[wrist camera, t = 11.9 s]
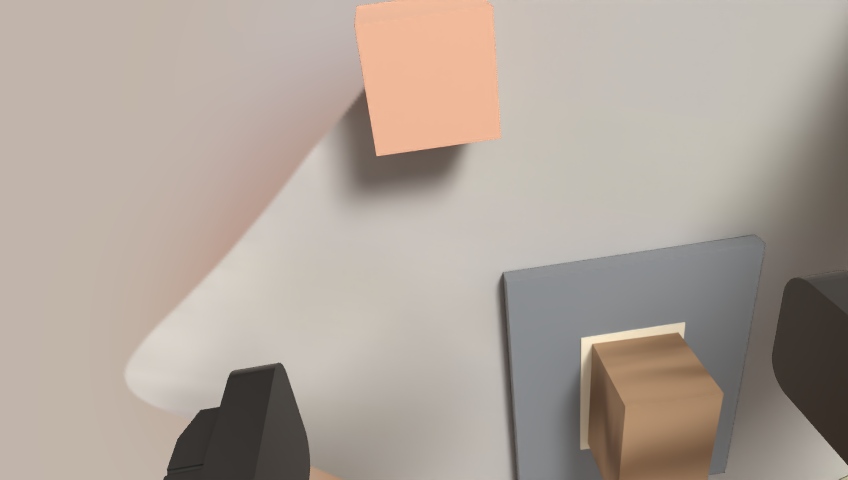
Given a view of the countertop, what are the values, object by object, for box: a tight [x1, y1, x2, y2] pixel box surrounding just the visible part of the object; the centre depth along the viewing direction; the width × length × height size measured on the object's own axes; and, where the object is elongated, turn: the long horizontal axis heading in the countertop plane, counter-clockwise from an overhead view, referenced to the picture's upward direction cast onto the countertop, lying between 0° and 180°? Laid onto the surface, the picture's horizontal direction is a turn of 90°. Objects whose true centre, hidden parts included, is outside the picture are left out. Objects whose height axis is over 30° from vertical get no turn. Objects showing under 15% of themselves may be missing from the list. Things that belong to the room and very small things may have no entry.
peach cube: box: [354, 0, 501, 156], centre depth 25 cm, size 5×5×5 cm
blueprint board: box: [503, 235, 766, 480], centre depth 37 cm, size 18×14×1 cm
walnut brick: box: [588, 332, 724, 480], centre depth 34 cm, size 8×5×5 cm, turn 6°
